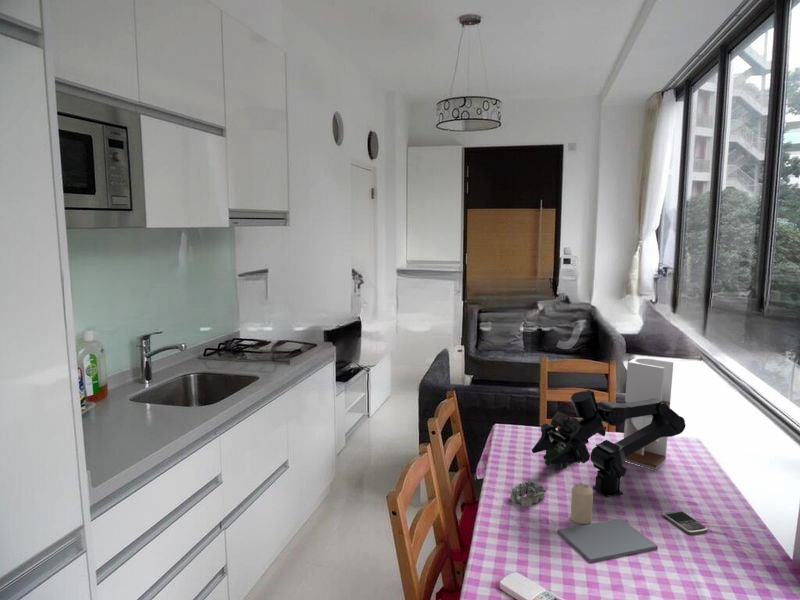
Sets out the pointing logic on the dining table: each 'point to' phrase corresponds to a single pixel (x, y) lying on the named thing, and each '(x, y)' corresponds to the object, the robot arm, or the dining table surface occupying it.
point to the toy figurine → (554, 451)
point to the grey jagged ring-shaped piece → (532, 493)
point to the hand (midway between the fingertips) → (541, 457)
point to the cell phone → (685, 522)
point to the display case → (644, 384)
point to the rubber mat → (606, 540)
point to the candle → (581, 504)
